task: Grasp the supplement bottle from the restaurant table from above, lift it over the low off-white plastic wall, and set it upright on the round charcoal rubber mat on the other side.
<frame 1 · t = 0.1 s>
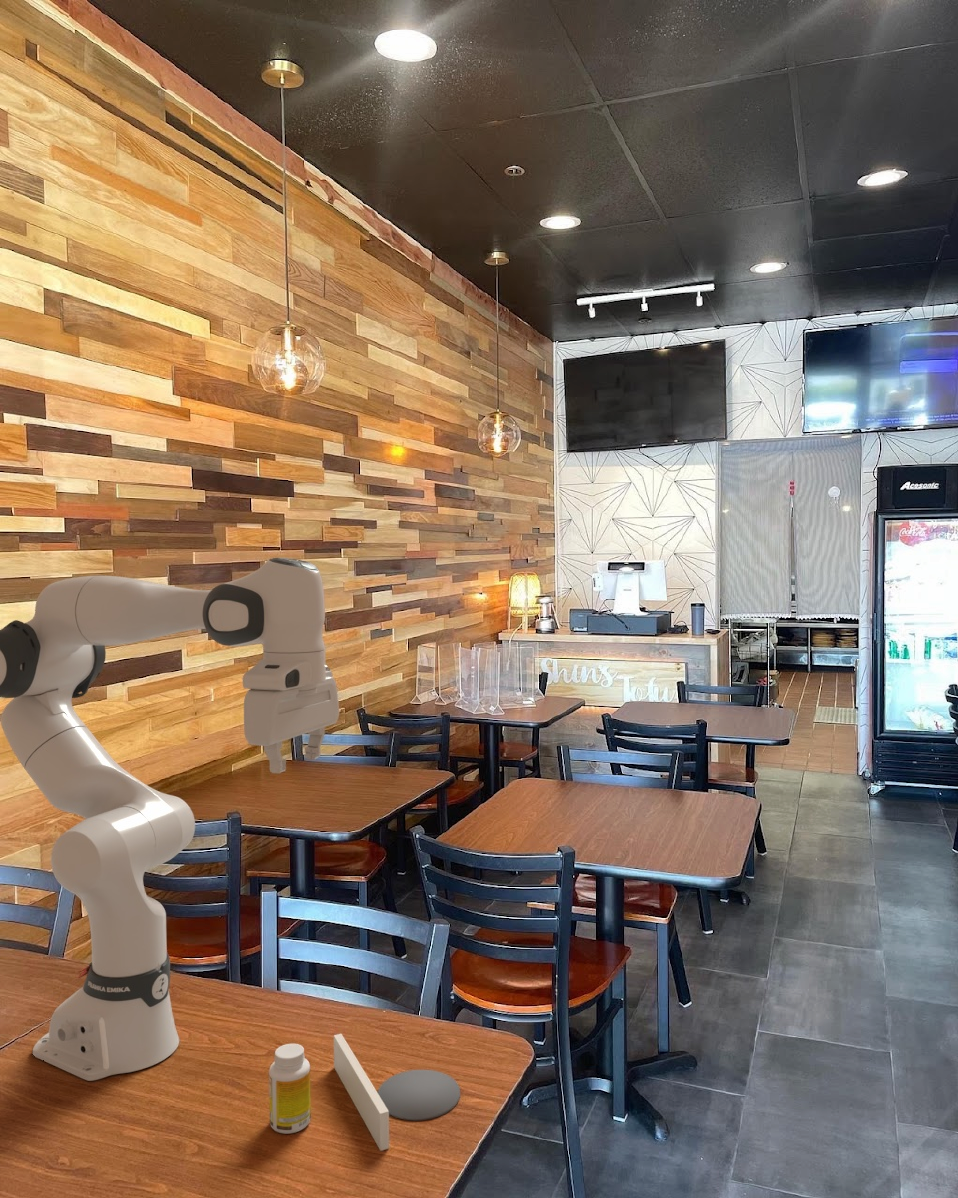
hand: (295, 765, 132), 48 cm above the table, tool pointing down, fingers open, 8 cm apart
low wall: (359, 1105, 130), on the table
rest mat: (418, 1095, 132), on the table
supplement bottle: (290, 1125, 126), on the table
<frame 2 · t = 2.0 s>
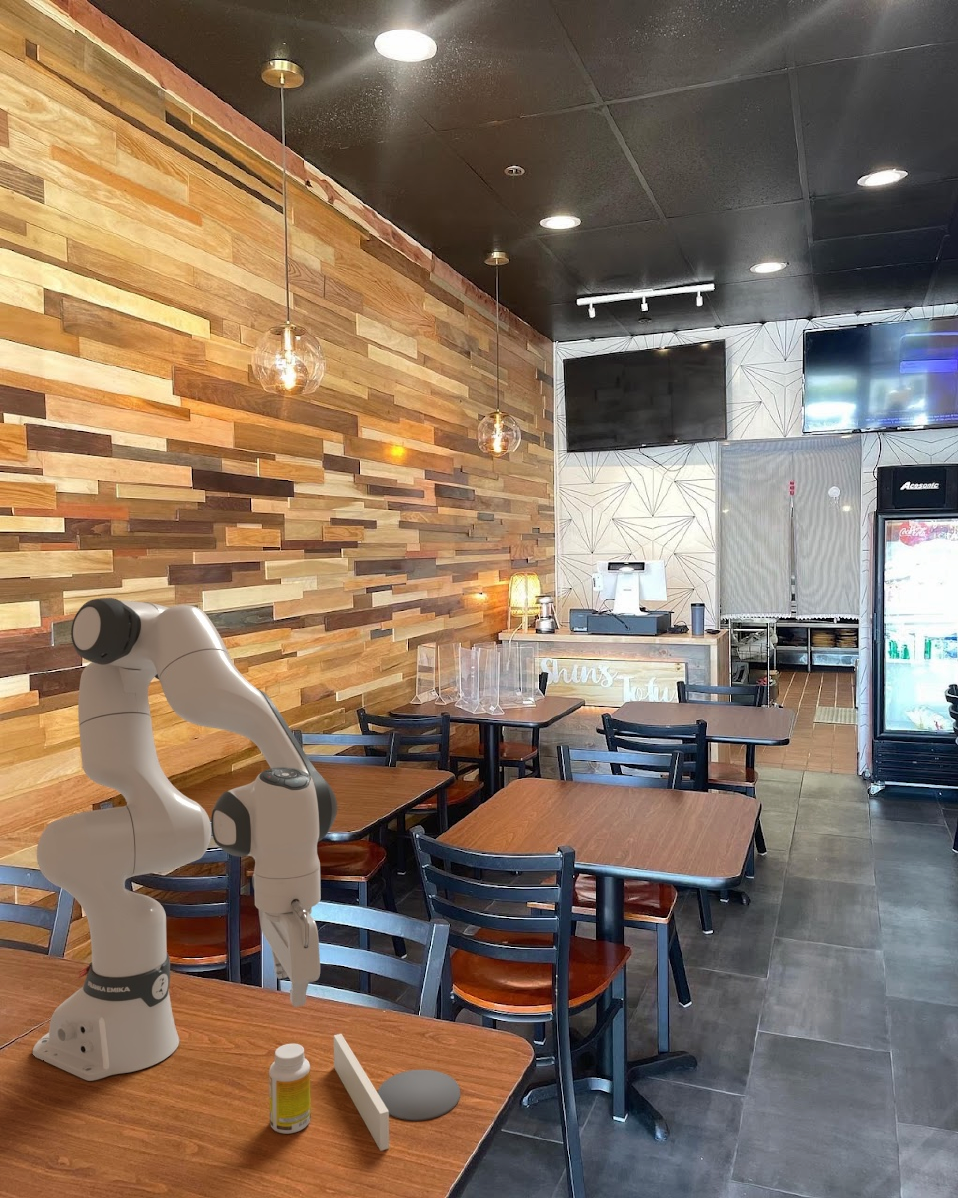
hand: (289, 989, 125), 19 cm above the table, tool pointing down, fingers open, 8 cm apart
nothing on the table moved.
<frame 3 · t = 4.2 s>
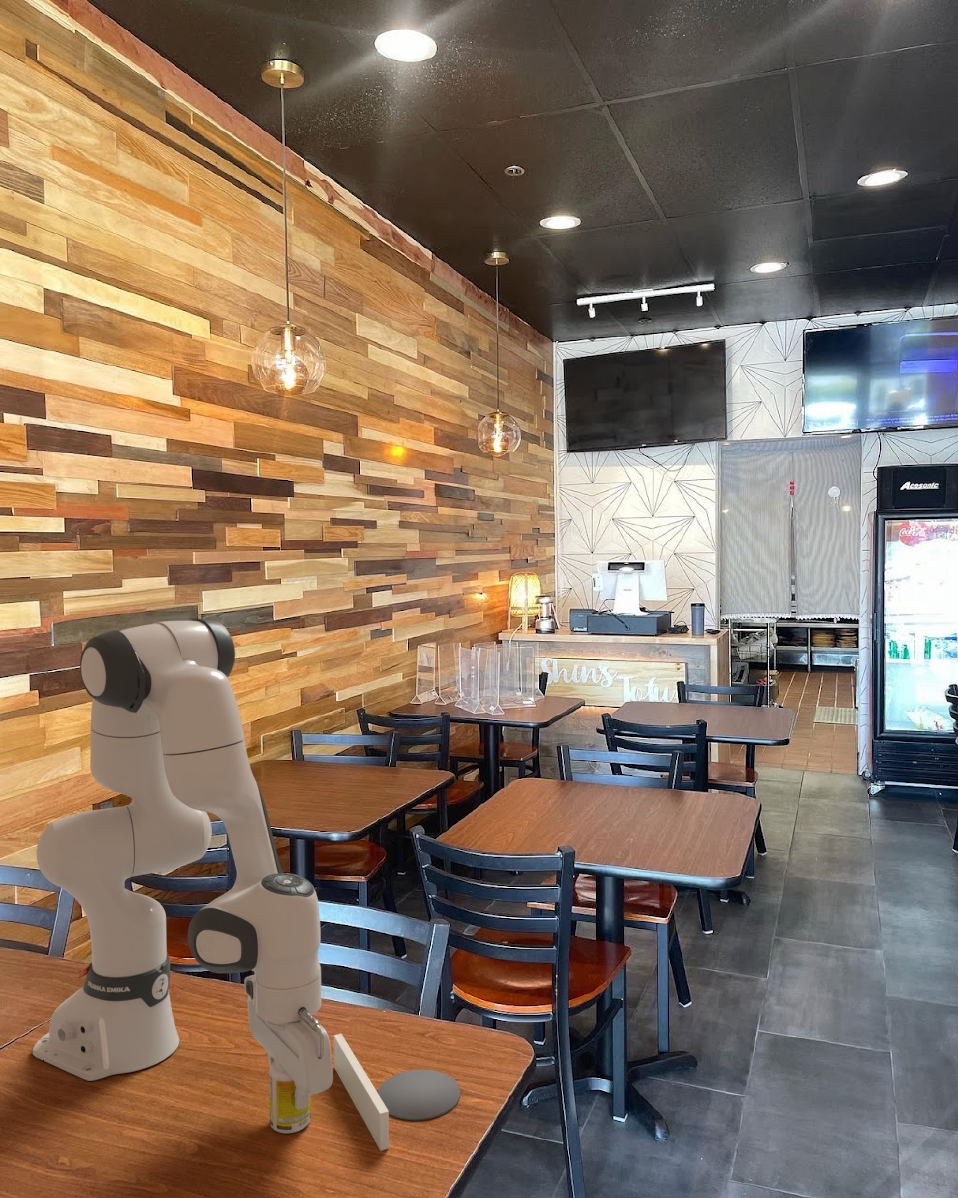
hand: (289, 1094, 126), 4 cm above the table, tool pointing down, fingers closed on supplement bottle, 5 cm apart
supplement bottle: (290, 1124, 126), on the table, touching gripper
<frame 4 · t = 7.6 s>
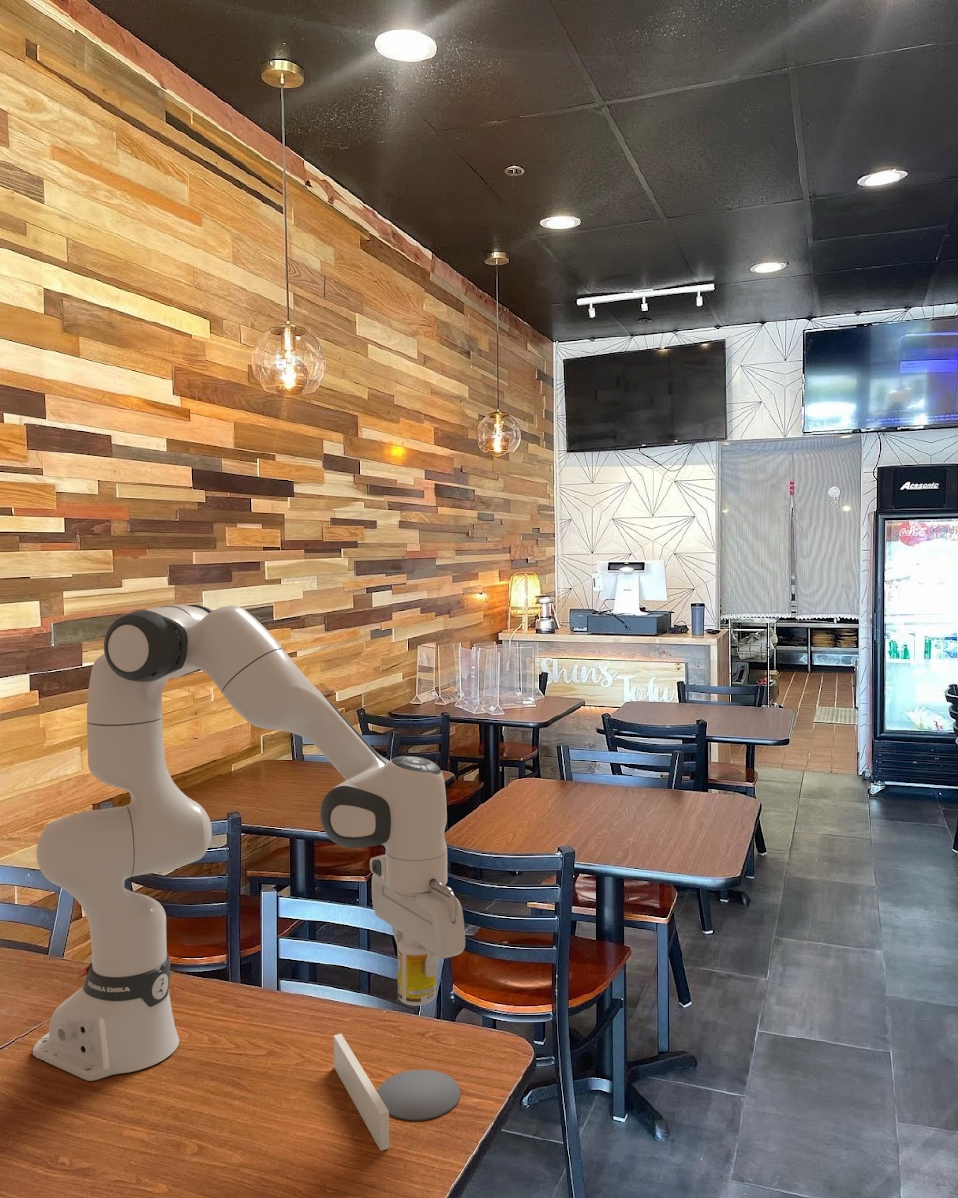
hand: (417, 965, 131), 19 cm above the table, tool pointing down, fingers closed on supplement bottle, 5 cm apart
supplement bottle: (416, 999, 132), point 14 cm above the table, touching gripper
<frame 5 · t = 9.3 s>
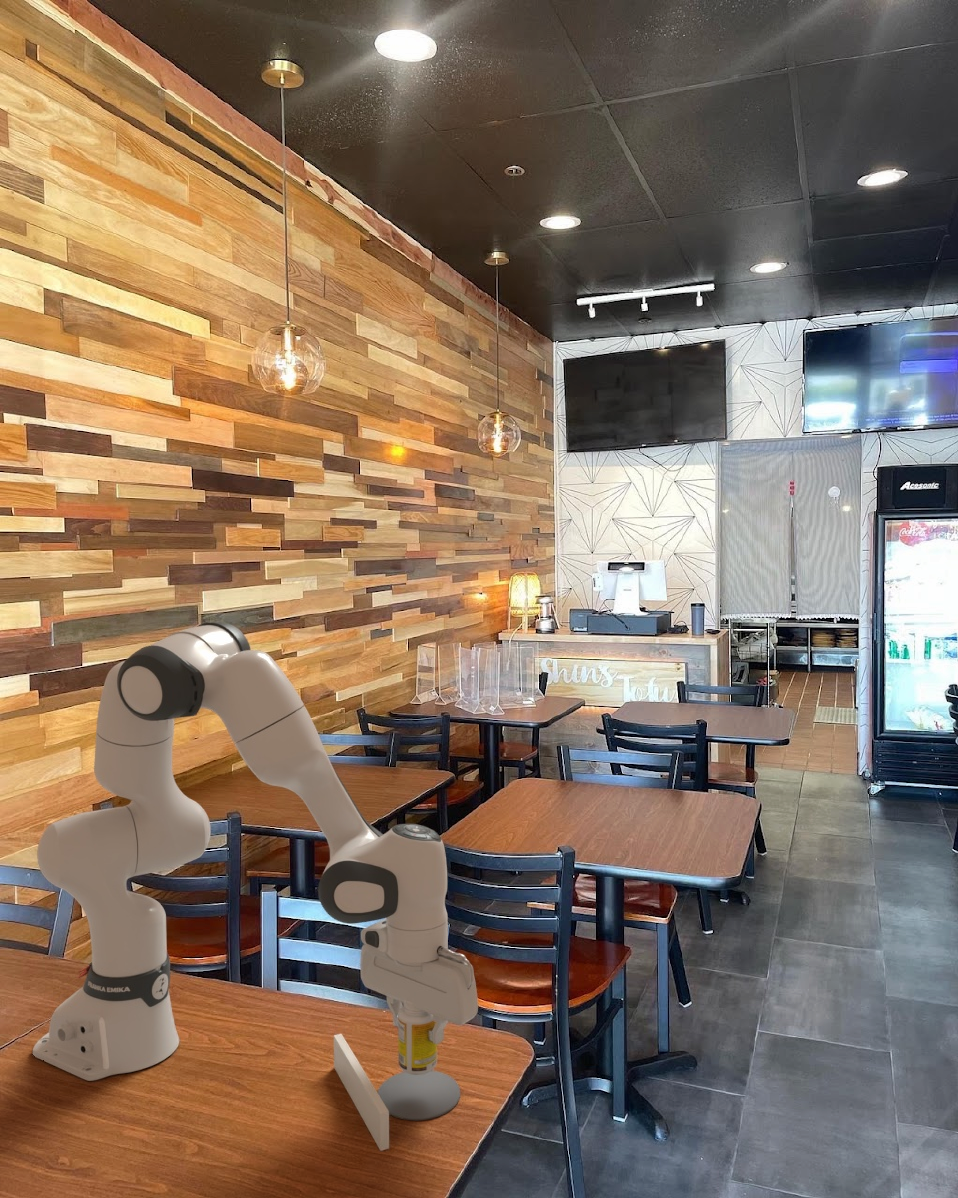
hand: (417, 1033, 131), 9 cm above the table, tool pointing down, fingers closed on supplement bottle, 5 cm apart
supplement bottle: (417, 1067, 132), point 4 cm above the table, touching gripper
when the fingers open (6 cm above the table, at t = 10.9 s): supplement bottle stays where it is, resting on rest mat.
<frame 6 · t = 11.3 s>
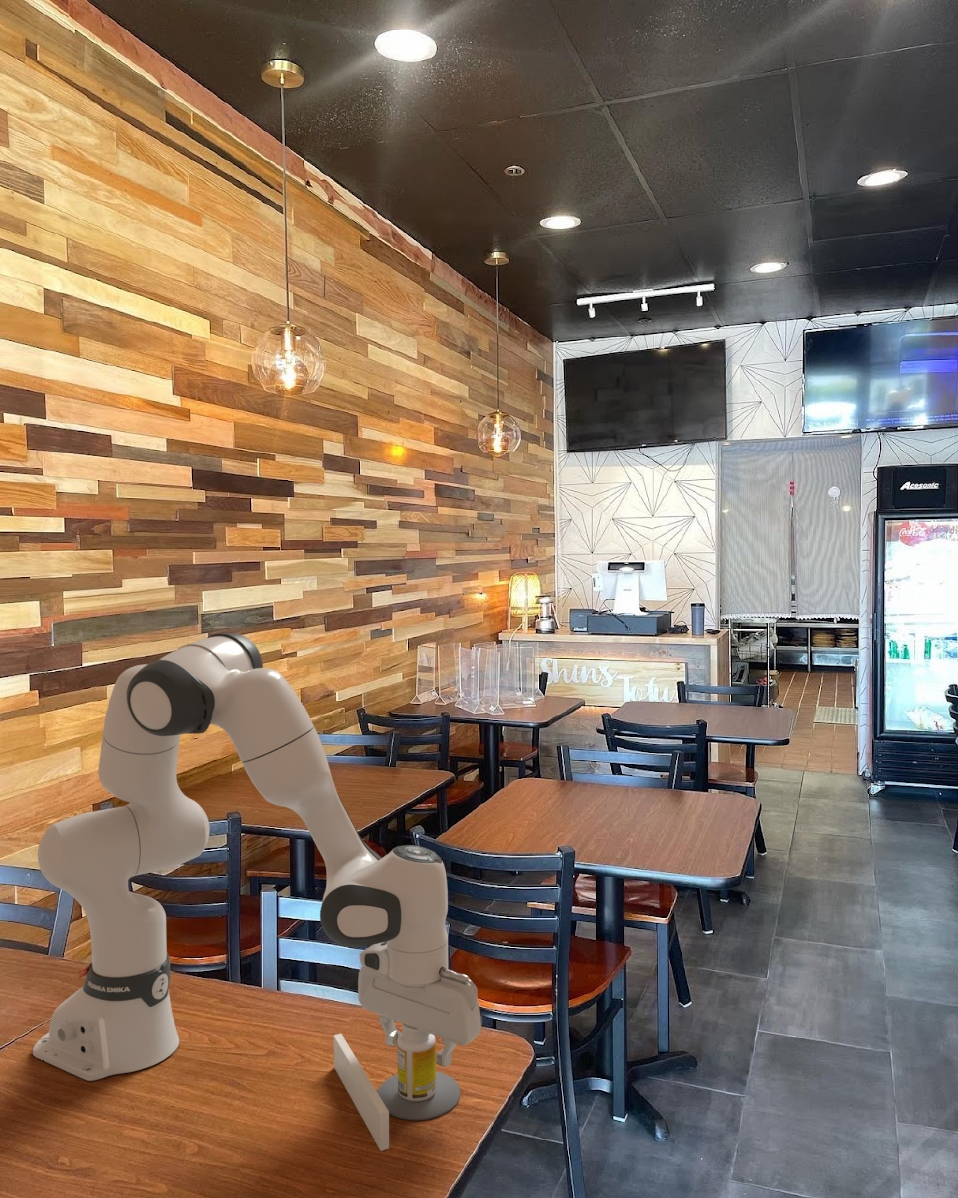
hand: (418, 1054, 132), 6 cm above the table, tool pointing down, fingers open, 8 cm apart
supplement bottle: (417, 1093, 132), resting on rest mat
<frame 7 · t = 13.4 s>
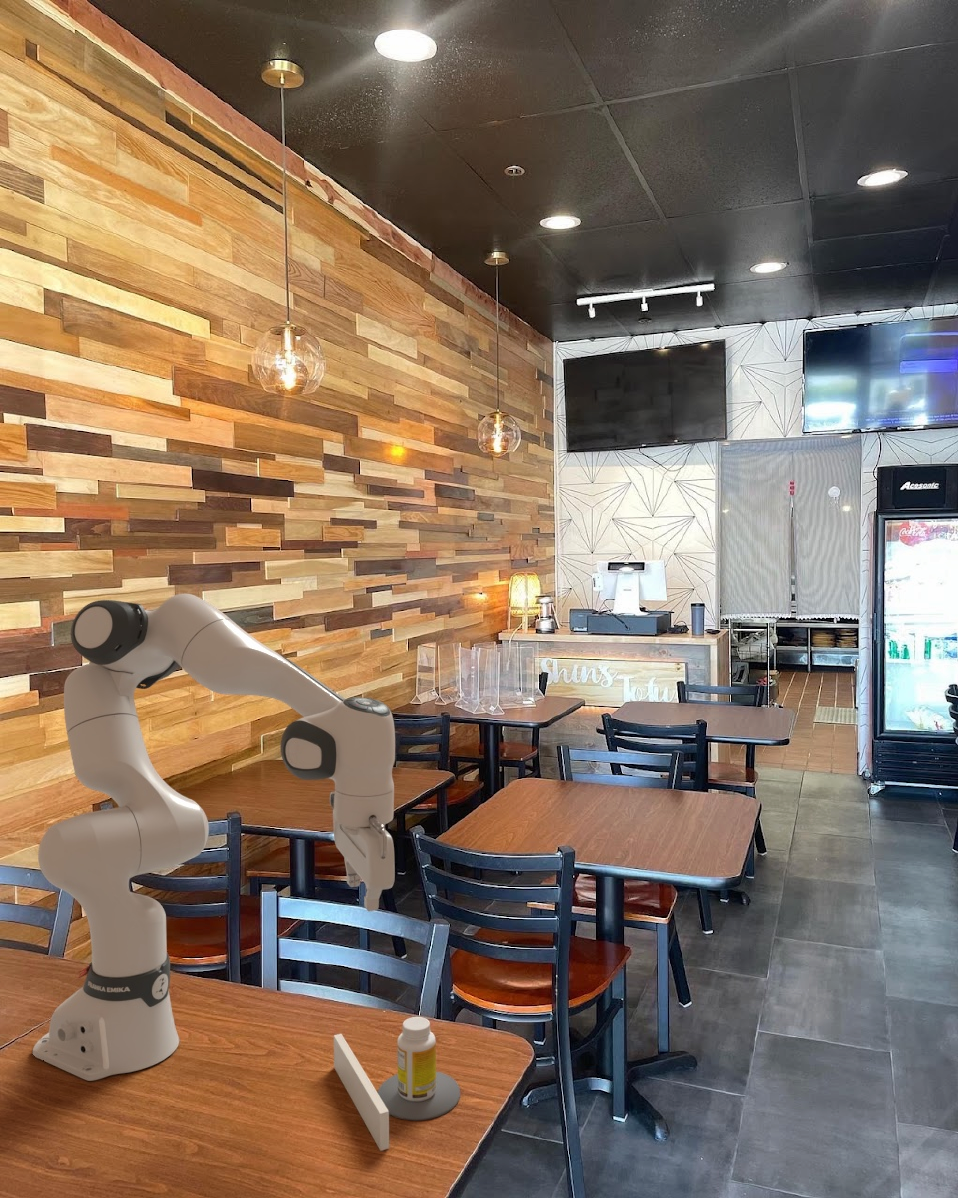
hand: (362, 896, 138), 27 cm above the table, tool pointing down, fingers open, 8 cm apart
nothing on the table moved.
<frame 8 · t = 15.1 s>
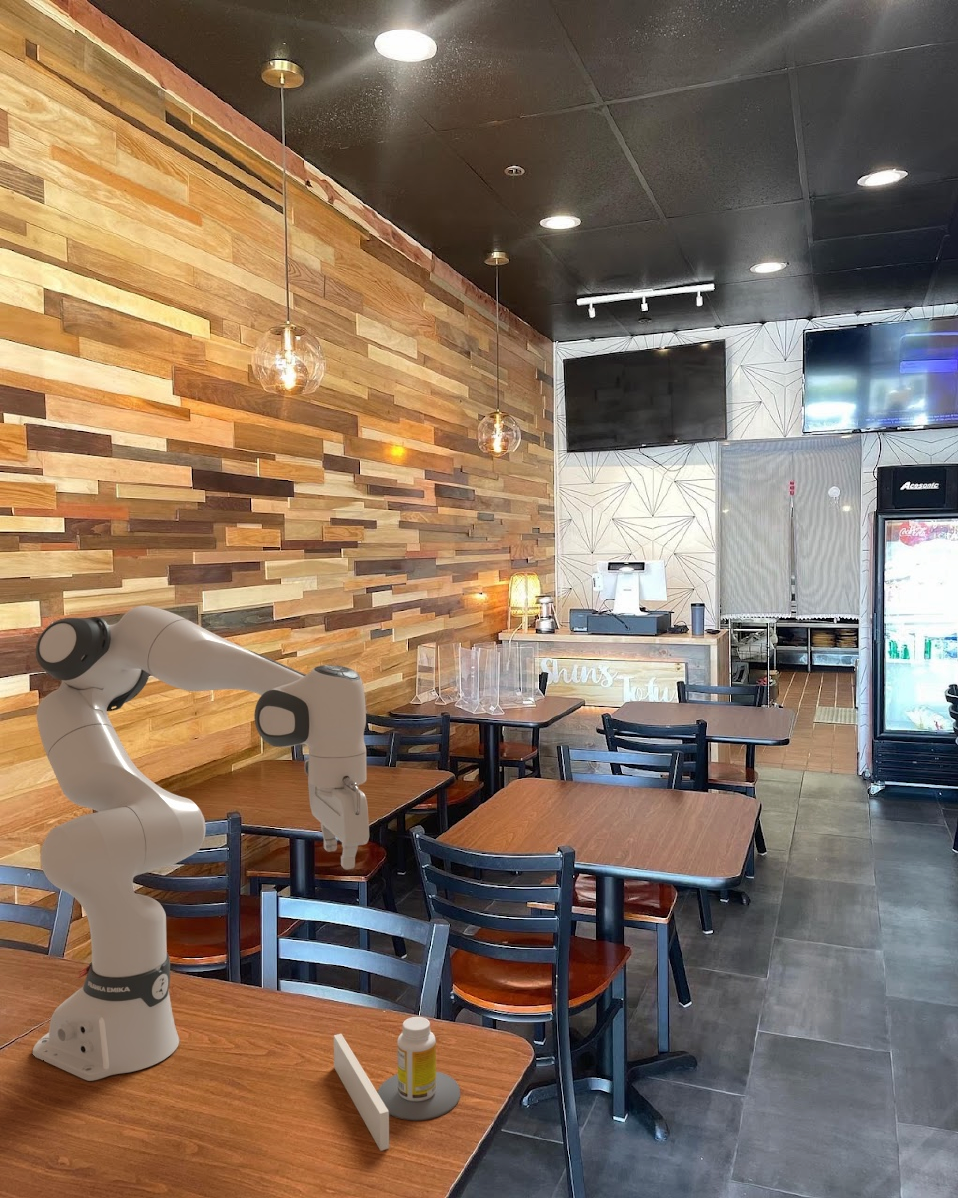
hand: (338, 858, 142), 31 cm above the table, tool pointing down, fingers open, 8 cm apart
nothing on the table moved.
at the end: supplement bottle 0.3 cm off-centre on the rest mat, point 0.2 cm above the rest mat's base; supplement bottle tilted 0°; the gripper is holding nothing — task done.
